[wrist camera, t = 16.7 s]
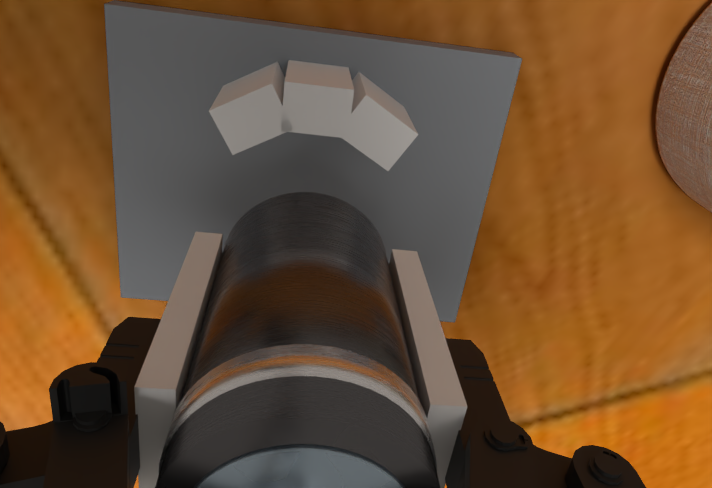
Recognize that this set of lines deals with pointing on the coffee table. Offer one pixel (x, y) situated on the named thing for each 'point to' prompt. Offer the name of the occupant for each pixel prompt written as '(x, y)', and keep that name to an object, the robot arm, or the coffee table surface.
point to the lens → (301, 362)
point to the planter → (689, 112)
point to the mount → (297, 135)
